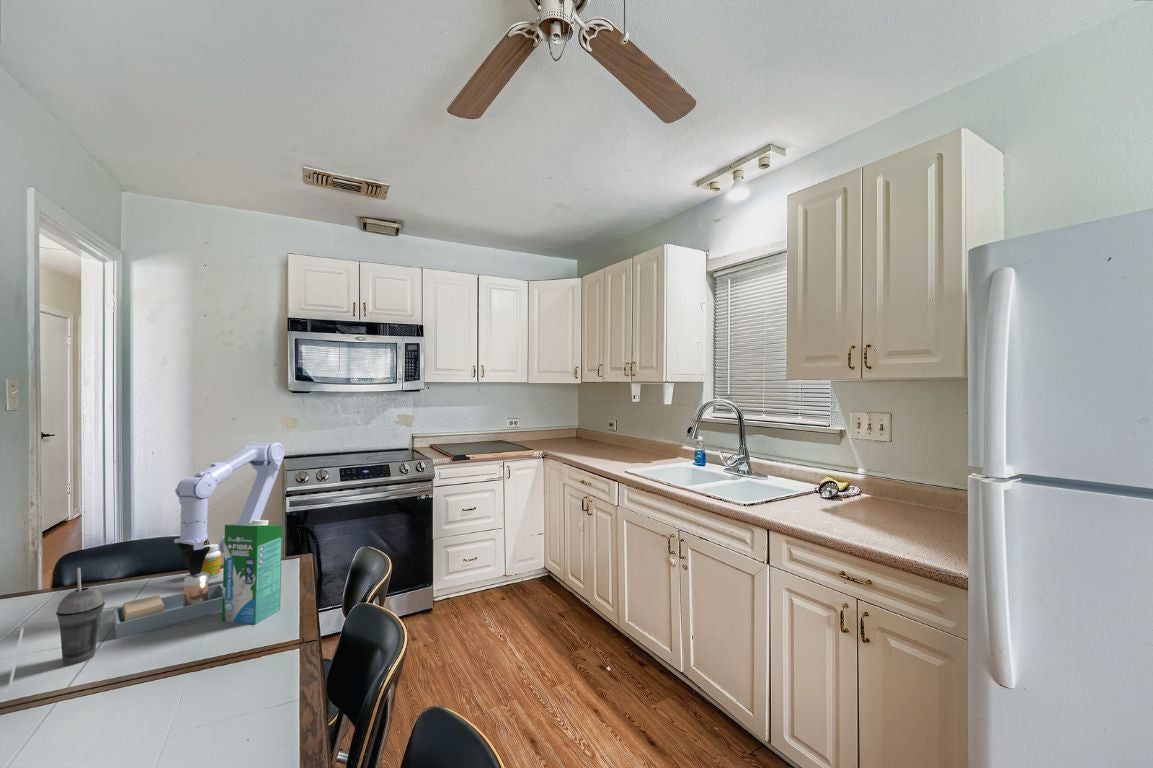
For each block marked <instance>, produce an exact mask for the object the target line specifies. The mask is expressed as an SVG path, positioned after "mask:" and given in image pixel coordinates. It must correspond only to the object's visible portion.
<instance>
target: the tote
mask: <svg viewBox="0 0 1153 768" xmlns="http://www.w3.org/2000/svg"><path fill="white" fill-rule="evenodd" d="M183 597H184V592H180V593H176V594H172V595H171V594H170V595H167V596H163V597H160V598H161V600H162V602H163V604H164V612H161V613H157V614H153V615H149V616H145V617H141V618H137V619H133V620H129V621H125V622H122V609H123V606H120V607H116V608H113V618H112V619H113V620H112V622H113V623H112V624H113V628H114V634H115V639H116V640H118V639H123V638H127V637H130V636H133V635H137V634H141V633H145V632H149V631H152V630H157V629H159V628H163V627H167V626H171V625H175V624H178V623H181V622H186V621H189V620H193V619H197V618H200V617H201V618H202V617H205V616H208V615H209V616H210V615H212V614H216V613H219V612H222V601H223V585H222V583H219V584H214V585H211V586H208V601H205V602H201V603H197V604H193V605H189V606H185V607H183Z"/></svg>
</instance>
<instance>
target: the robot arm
mask: <svg viewBox="0 0 1153 768" xmlns="http://www.w3.org/2000/svg"><path fill="white" fill-rule="evenodd" d="M285 455H286V453H285V449H284V446H283V445H282V443H280V442H277V441H276V442H255V441H252V442H249V443H248V444H246V445H243V447H242V449H241V450H240V451H239V452H237V453H236V454H235V455H233V456H232V457H230V458H229V459H227V460H226V461H224V462H223V461H218V462H216V461H214V462H212V463H210V466H208V467H207V468H205V469H204V470H202V471H198V472H196V474H195V475H193V476H186V477H184V478H183V479H182V480H181V481H180V482H179V483H178V484H177V487H176V488H175V489H174V490H175V495H176V497H178V502H179V504H180V533H179V534H180V535H179V538H175V539H174V540H173V542H174V543H175V544H176V545H177V546H178V548H179V550H180V553H181V556H182V561H183V565H184V568H185V569H188V572H189V575H195V574H200V573H201V570H202V567H203V563H204V560H205V557H206V555H207V553H208V552H209V550H210V546H207V547H204V546H205V545H204V544H205V543H204V542H205V541H206V540H207V539H208V538H209V535H208V515H209V514H208V513H209V512H208V508H209V507H208V506H209V497H210V496H211V495H212V494H213V493H214V491H215V489H216V488H217V487H218V486H219V485H221V484H222V483H224V482H225V481H227V480H229V479H230V478H231V477H232V475H233V472H235V470H237V469H239V468H242V467H243V466H245V465H247V464H250V466H251V467H252V469H254V470H256V472H257V475H256V477H255V480H254V482H253V485H252V486H251V489H250V492H249V494H248V497H247V498H246V502H245V504H244V507H243V509H242V510H241V511H242V512H241V514H240V516H239V519H238V521H237V522H235V523H234V524H232V525H238V524H251V521H252V520H261V517H262V514H263V513H264V510H265V507H266V505H267V502H268V499H269V496H270V495H271V493H272V490H273V487H274V485H275V482H276V479H277V477H278V474H279V470H280V468H281V465H282V462H283V460H284V457H285ZM224 536H225V534H224V535H223V536H222V537H221V539H220V542H219V544H218V549H219V551H220V552H221V553H222V554H224ZM221 584H222V585H223V581H222V582H221Z"/></svg>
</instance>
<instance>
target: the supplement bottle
mask: <svg viewBox="0 0 1153 768" xmlns="http://www.w3.org/2000/svg"><path fill="white" fill-rule="evenodd" d="M207 546H210V550H209V552H208V553H207V555H206V557H205V560H204V563H203V567H202V570H201V572H207V573H209V575H208V578H210V579H213V577H214V578H216V577H218V576H220V575H219V574H221V561H222V560H221V558H222V554H221V553H222V552H221V551H220V550H219V544H216V543H212V544H206V545H204V547H207Z"/></svg>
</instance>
